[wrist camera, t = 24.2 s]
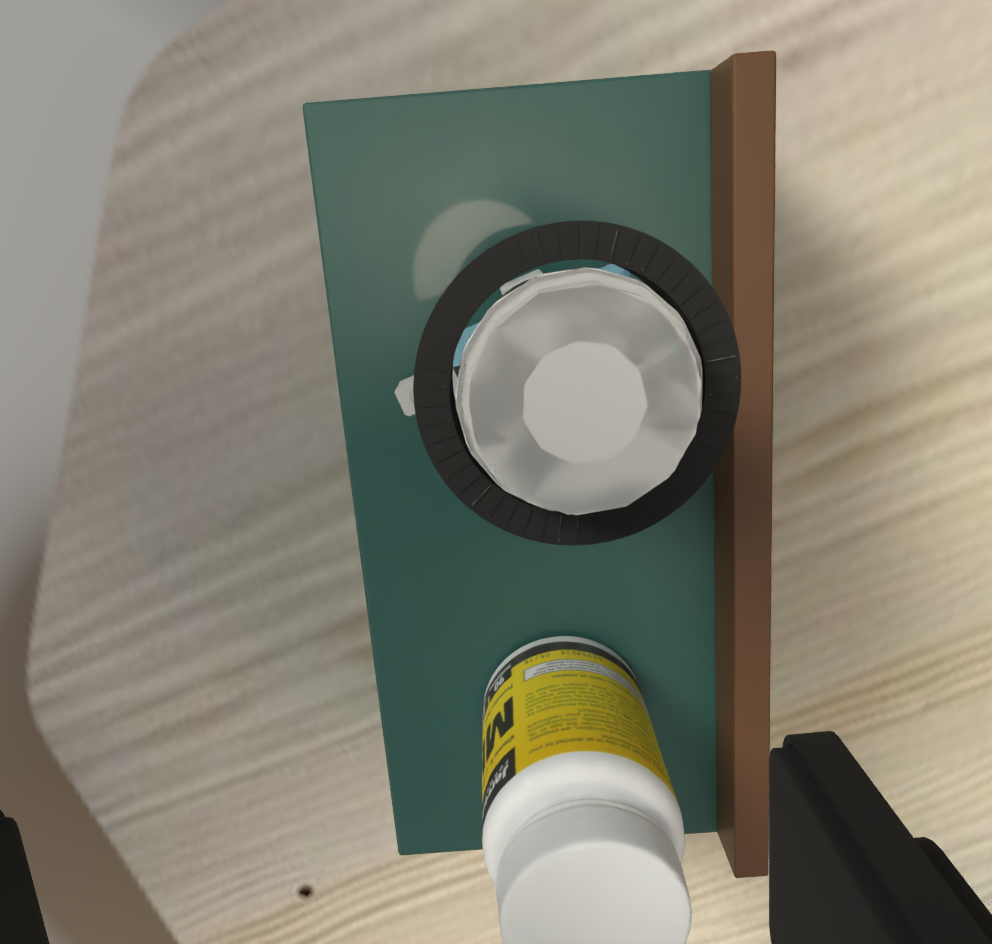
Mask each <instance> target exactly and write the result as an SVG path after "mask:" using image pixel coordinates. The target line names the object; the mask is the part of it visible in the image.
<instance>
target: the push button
mask: <svg viewBox="0 0 992 944" xmlns="http://www.w3.org/2000/svg"><path fill="white" fill-rule="evenodd" d="M579 259H583V260H598V261H603V262H608V263H611V264H609V265H606V266H604V267H601V268H599V269H597V268H586V267H584V268H578V269H571V270H565V271H559V272H552V273H546V274H543V273H542V271H540V270H539V269H538V270H535V271H532V272H530V273H528V274H525V275H523V276H521V277H519V278H516V279H514V280H512V279H513V278H515V277H517V276H518V275H520V274H522V273H524V272H527V271H529V270H531V269H533V268H536V267H539V266H542V265H545V264H549V263H554V262H559V261H564V260H579ZM630 273H631V274H633V275H635V276H636V277H638V278H639V279H640V280H642V281H643V282H644V283H645V284H646V285H645V284H643V283H642V282H640V281H638V280H637V279H633V278H631V275H630ZM510 280H512V281H510ZM508 281H510V282H508ZM647 285H648V286H649V287H650V288H649V287H648V286H647ZM499 288H500V290H501V293H502V295H503V296H502V297H501V298H500V299H499V300H498V301H497V302H496V303H495V304H494V305H492V306H491V307H490V308H489V309H488V311H487V312H486V314H485V315H484V317H483V318H482V320H481V321H480V322H479V323H477V324H474V325H472V326H470V327H467V328H466V326H467V324H468V323H469V321H470V319H471V318H472V316H473V315H474V314H475V313H476V311H477V310H478V309H479V307H480V306H481V305H482V304H483V303H484V302H485V301H486V300H487V299H488V298H489V297H490V296H491V295H492V294H493V293H494V292H495V291H496V290H498V289H499ZM395 394H396V397H397V399H398V401H399V403H400V405H401V407H402V409H403V411H404V414H405V415H407V416H411V415H414V414H416V420H417V424H418V428H419V431H420V435H421V439H422V441H423V444H424V446H425V449H426V451H427V454H428V456H429V458H430V459H431V461H432V463H433V465H434V467H435V469H436V470H437V472H438V473H439V475H440V476H441V478H442V479H443V481H444V482H445V484H446V485H447V486H448V487H449V488H450V489H451V491H452V492H453V493H454V494H455V495H456V496H457V497H458V498H459V499H460V500H461V501H462V502H463V503H464V504H465V505H466V506H467V507H468V508H469V509H471V510H472V511H473V512H475V513H476V514H477V515H479V516H480V517H481V518H483V519H484V520H486V521H488V522H489V523H491V524H493V525H494V526H496V527H498V528H500V529H502V530H504V531H506V532H508V533H511V534H514V535H516V536H519V537H522V538H525V539H528V540H532V541H536V542H540V543H547V544H554V545H568V546H578V545H592V544H599V543H605V542H610V541H614V540H617V539H621V538H624V537H627V536H630V535H633V534H635V533H638V532H640V531H642V530H644V529H646V528H648V527H651V526H653V525H655V524H656V523H658V522H659V521H661V520H663V519H664V518H666V517H667V516H669V515H670V514H672V513H673V512H674V511H676V510H677V509H678V508H679V507H681V506H682V505H683V504H684V503H685V502H686V501H687V500H688V499H690V498H691V497H692V496H693V495H694V494H695V493H696V492H697V490H698V489H699V488H700V487H701V486H702V485H703V484H704V482H705V481H706V480H707V479H708V477H709V476H710V474H711V473H712V472H713V470H714V469H715V467H716V466H717V464H718V462H719V460H720V459H721V457H722V455H723V453H724V451H725V449H726V447H727V444H728V442H729V440H730V438H731V435H732V432H733V429H734V426H735V422H736V419H737V414H738V409H739V404H740V396H741V361H740V353H739V348H738V343H737V339H736V335H735V332H734V329H733V326H732V323H731V320H730V318H729V316H728V313H727V311H726V309H725V307H724V305H723V303H722V301H721V300H720V298H719V296H718V295H717V293H716V292H715V290H714V288H713V287H712V286H711V284H710V283H709V282H708V281H707V279H706V278H705V277H704V276H703V274H702V273H701V272H700V271H699V270H698V269H697V268H696V267H695V266H694V265H693V264H692V263H691V262H690V261H689V260H687V259H686V258H685V257H684V256H682V255H681V254H680V253H679V252H677V251H676V250H675V249H673V248H672V247H670V246H668V245H667V244H665V243H664V242H662V241H660V240H658V239H656V238H654V237H652V236H650V235H648V234H646V233H644V232H641V231H638V230H635V229H632V228H629V227H626V226H622V225H617V224H613V223H608V222H599V221H565V222H556V223H550V224H545V225H541V226H537V227H533V228H530V229H527V230H524V231H522V232H519V233H516V234H514V235H512V236H510V237H508V238H506V239H504V240H501V241H500V242H498V243H497V244H495V245H493V246H492V247H490V248H488V249H487V250H485V251H484V252H483V253H481V254H480V255H479V256H478V257H476V258H475V259H474V260H472V261H471V262H470V263H469V264H468V265H467V266H466V267H465V268H464V269H463V270H462V271H461V272H460V273H459V274H458V275H457V276H456V277H455V279H454V280H453V281H452V282H451V283H450V285H449V286H448V287H447V288H446V290H445V291H444V293H443V294H442V296H441V297H440V299H439V300H438V302H437V303H436V305H435V307H434V309H433V311H432V313H431V315H430V317H429V319H428V321H427V323H426V326H425V328H424V331H423V334H422V336H421V340H420V343H419V347H418V351H417V355H416V361H415V368H414V375H413V376H411V377H409V378H407V379H404V380H402V381H400V382H399V385H398V387H396V390H395Z"/></svg>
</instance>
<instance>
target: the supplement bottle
mask: <svg viewBox="0 0 992 944" xmlns="http://www.w3.org/2000/svg"><path fill="white" fill-rule="evenodd" d="M482 732H483V735H482V736H483V753H482V845H483V852H484V858H485V862H486V866H487V869H488V872H489V875H490V877H491V879H492V881H493V883H494V885H495V887H496V895H497V902H498V910H499V922H500V931H501V937H502V940H503V943H504V944H685V943H686V940H687V938H688V935H689V932H690V927H691V914H692V911H691V902H690V897H689V892H688V889H687V885H686V882H685V878H684V874H683V870H682V866H681V863H682V859H683V854H684V827H683V821H682V815H681V811H680V807H679V804H678V801H677V798H676V796H675V793H674V790H673V787H672V784H671V781H670V779H669V775H668V772H667V769H666V767H665V764H664V761H663V758H662V755H661V752H660V749H659V746H658V742H657V739H656V736H655V733H654V730H653V727H652V723H651V720H650V717H649V714H648V711H647V708H646V705H645V701H644V699H643V695H642V692H641V689H640V687H639V685H638V682H637V680H636V677H635V676H634V674H633V672H632V670H631V669H630V668H629V666H628V665H627V664H626V662H625V661H624V660H623V659H622V658H621V657H620V656H619V655H618V654H616V653H615V652H614V651H612V650H611V649H609V648H608V647H606V646H604V645H602V644H600V643H598V642H596V641H593V640H590V639H586V638H582V637H575V636H557V637H549V638H544V639H540V640H537V641H534V642H531V643H529V644H527V645H525V646H523V647H521V648H519V649H518V650H516V651H515V652H513V653H512V654H511V655H509V656H508V657H507V658H506V659H505V660H504V661H503V662H502V663H501V664H500V665H499V667H498V668H497V669H496V671H495V672H494V674H493V675H492V677H491V679H490V681H489V683H488V686H487V689H486V692H485V696H484V701H483V719H482Z"/></svg>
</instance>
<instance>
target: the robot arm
mask: <svg viewBox="0 0 992 944" xmlns="http://www.w3.org/2000/svg"><path fill="white" fill-rule="evenodd" d="M769 927H770V937H771V942H772V944H992V914H991V913H990V912H989V911H988V909H987V908H986V907H985V905H984V904H983V903H982V902H981V900H980V899H979V898H978V896H977V895H976V894H975V892H974V891H973V890H972V889H971V887H970V886H969V885H968V883H967V882H966V881H965V879H964V878H963V877H962V876H961V874H960V873H959V872H958V870H957V869H956V868H955V867H954V865H953V864H952V863H951V861H950V860H949V859H948V857H947V856H946V855H945V854H944V852H943V851H942V850H941V849H940V848H939V847H938V846H937V845H936V844H935V843H934V842H933V841H932V840H930V839H928V838H925V837H920V838H913V837H912V835H911V834H910V832H909V831H908V830H907V828H906V827H905V826H904V824H903V823H902V822H901V820H900V819H899V818H898V816H897V815H896V814H895V812H894V811H893V809H892V808H891V807H890V805H889V804H888V803H887V801H886V800H885V799H884V797H883V796H882V795H881V793H880V792H879V791H878V789H877V788H876V787H875V785H874V784H873V782H872V781H871V780H870V778H869V777H868V776H867V774H866V773H865V772H864V770H863V769H862V768H861V766H860V765H859V764H858V762H857V761H856V760H855V758H854V757H853V755H852V754H851V753H850V751H849V750H848V749H847V747H846V746H845V745H844V743H843V742H842V741H841V739H840V738H839V737H838V736H837V735H836V734H835V733H834V732H832V731H825V732H814V733H803V734H791V735H787V736H786V737H785V738H784V742H783V748H773V749H772V750H771V752H770V758H769ZM0 944H49V941H48V937H47V933H46V929H45V926H44V922H43V918H42V914H41V911H40V907H39V903H38V900H37V895H36V892H35V888H34V884H33V880H32V877H31V873H30V869H29V865H28V862H27V858H26V854H25V851H24V847H23V843H22V839H21V835H20V832H19V828H18V826H17V823H16V821H14V819H13V818H9V817H5V816H4V814H3V812H2V811H1V810H0Z"/></svg>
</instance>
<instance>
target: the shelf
mask: <svg viewBox="0 0 992 944" xmlns="http://www.w3.org/2000/svg"><path fill="white" fill-rule="evenodd" d="M303 115H304V123H305V131H306V138H307V146H308V154H309V162H310V169H311V177H312V185H313V193H314V200H315V208H316V216H317V224H318V231H319V239H320V247H321V255H322V262H323V270H324V278H325V286H326V293H327V301H328V309H329V317H330V324H331V332H332V340H333V348H334V356H335V363H336V371H337V379H338V387H339V394H340V402H341V410H342V418H343V425H344V433H345V441H346V449H347V456H348V464H349V472H350V480H351V487H352V495H353V503H354V511H355V518H356V526H357V534H358V542H359V550H360V557H361V565H362V573H363V581H364V588H365V596H366V604H367V612H368V619H369V627H370V635H371V643H372V650H373V658H374V666H375V674H376V681H377V689H378V697H379V705H380V712H381V720H382V728H383V736H384V744H385V751H386V759H387V767H388V775H389V782H390V790H391V798H392V806H393V813H394V821H395V829H396V837H397V844H398V852H399V854H400V855H412V854H425V853H439V852H452V851H465V850H479V849H483V845H482V753H483V736H482V735H483V732H482V719H483V701H484V696H485V692H486V689H487V686H488V683H489V681H490V679H491V677H492V675H493V674H494V672H495V671H496V669H497V668H498V667H499V665H500V664H501V663H502V662H503V661H504V660H505V659H506V658H507V657H508V656H509V655H511V654H512V653H513V652H515V651H516V650H518V649H519V648H521V647H523V646H525V645H527V644H529V643H531V642H534V641H537V640H540V639H544V638H549V637H557V636H575V637H582V638H586V639H590V640H593V641H596V642H598V643H600V644H602V645H604V646H606V647H608V648H609V649H611V650H612V651H614V652H615V653H616V654H618V655H619V656H620V657H621V658H622V659H623V660H624V661H625V662H626V664H627V665H628V666H629V668H630V669H631V670H632V672H633V674H634V676H635V677H636V680H637V682H638V685H639V687H640V689H641V692H642V695H643V699H644V701H645V705H646V708H647V711H648V714H649V717H650V720H651V723H652V727H653V730H654V733H655V736H656V739H657V742H658V746H659V749H660V752H661V755H662V758H663V761H664V764H665V767H666V769H667V772H668V775H669V779H670V781H671V784H672V787H673V790H674V793H675V796H676V798H677V801H678V804H679V807H680V811H681V815H682V821H683V827H684V834H693V833H707V832H718V835H719V837H720V840H721V843H722V845H723V848H724V850H725V853H726V856H727V858H728V861H729V863H730V866H731V868H732V871H733V874H734V876H735V877H736V878H743V877H757V876H767V875H768V856H769V752H770V649H771V545H772V442H773V339H774V235H775V132H776V52H775V51H773V50H772V51H760V52H748V53H736V54H733V55H732V56H730V57H729V58H727V59H726V60H725V61H723V62H722V63H720V64H719V65H717V66H716V67H715V68H713V69H712V70H702V71H689V72H677V73H665V74H653V75H641V76H629V77H616V78H604V79H592V80H580V81H568V82H556V83H544V84H531V85H519V86H507V87H495V88H483V89H471V90H458V91H446V92H434V93H422V94H410V95H398V96H386V97H373V98H361V99H349V100H337V101H325V102H313V103H305V104H303ZM565 221H599V222H608V223H613V224H617V225H622V226H626V227H629V228H632V229H635V230H638V231H641V232H644V233H646V234H648V235H650V236H652V237H654V238H656V239H658V240H660V241H662V242H664V243H665V244H667V245H668V246H670V247H672V248H673V249H675V250H676V251H677V252H679V253H680V254H681V255H682V256H684V257H685V258H686V259H687V260H689V261H690V262H691V263H692V264H693V265H694V266H695V267H696V268H697V269H698V270H699V271H700V272H701V273H702V274H703V276H704V277H705V278H706V279H707V281H708V282H709V283H710V284H711V286H712V287H713V288H714V290H715V292H716V293H717V295H718V296H719V298H720V300H721V301H722V303H723V305H724V307H725V309H726V311H727V313H728V316H729V318H730V320H731V323H732V326H733V329H734V332H735V335H736V339H737V343H738V348H739V353H740V361H741V396H740V404H739V409H738V414H737V419H736V422H735V426H734V429H733V432H732V435H731V438H730V440H729V442H728V444H727V447H726V449H725V451H724V453H723V455H722V457H721V459H720V460H719V462H718V464H717V466H716V467H715V469H714V470H713V472H712V473H711V474H710V476H709V477H708V479H707V480H706V481H705V482H704V484H703V485H702V486H701V487H700V488H699V489H698V490H697V492H696V493H695V494H694V495H693V496H692V497H691V498H690V499H688V500H687V501H686V502H685V503H684V504H683V505H682V506H681V507H679V508H678V509H677V510H676V511H674V512H673V513H672V514H670V515H669V516H667V517H666V518H664V519H663V520H661V521H659V522H658V523H656V524H655V525H653V526H651V527H648V528H646V529H644V530H642V531H640V532H638V533H635V534H633V535H630V536H627V537H624V538H621V539H617V540H614V541H610V542H605V543H599V544H592V545H578V546H568V545H554V544H547V543H540V542H536V541H532V540H528V539H525V538H522V537H519V536H516V535H514V534H511V533H508V532H506V531H504V530H502V529H500V528H498V527H496V526H494V525H493V524H491V523H489V522H488V521H486V520H484V519H483V518H481V517H480V516H479V515H477V514H476V513H475V512H473V511H472V510H471V509H469V508H468V507H467V506H466V505H465V504H464V503H463V502H462V501H461V500H460V499H459V498H458V497H457V496H456V495H455V494H454V493H453V492H452V491H451V489H450V488H449V487H448V486H447V485H446V484H445V482H444V481H443V479H442V478H441V476H440V475H439V473H438V472H437V470H436V469H435V467H434V465H433V463H432V461H431V459H430V458H429V456H428V454H427V451H426V449H425V446H424V444H423V441H422V439H421V435H420V431H419V428H418V424H417V420H416V414H414V415H411V416H407V415H405V414H404V411H403V409H402V407H401V405H400V403H399V401H398V399H397V397H396V394H395V390H396V387H398V385H399V382H400V381H402V380H404V379H407V378H409V377H411V376H413V375H414V368H415V361H416V355H417V351H418V347H419V343H420V340H421V336H422V334H423V331H424V328H425V326H426V323H427V321H428V319H429V317H430V315H431V313H432V311H433V309H434V307H435V305H436V303H437V302H438V300H439V299H440V297H441V296H442V294H443V293H444V291H445V290H446V288H447V287H448V286H449V285H450V283H451V282H452V281H453V280H454V279H455V277H456V276H457V275H458V274H459V273H460V272H461V271H462V270H463V269H464V268H465V267H466V266H467V265H468V264H469V263H470V262H471V261H472V260H474V259H475V258H476V257H478V256H479V255H480V254H481V253H483V252H484V251H485V250H487V249H488V248H490V247H492V246H493V245H495V244H497V243H498V242H500V241H501V240H504V239H506V238H508V237H510V236H512V235H514V234H516V233H519V232H522V231H524V230H527V229H530V228H533V227H537V226H541V225H545V224H550V223H556V222H565ZM609 264H611V263H608V262H603V261H598V260H583V259H579V260H564V261H559V262H554V263H549V264H545V265H542V266H539V267H536V268H533V269H531V270H529V271H527V272H524V273H522V274H520V275H518V276H517V277H515V278H513V279H512V280H514V279H516V278H519V277H521V276H523V275H525V274H528V273H530V272H532V271H535V270H538V269H539V270H540V271H542V273H543V274H546V273H552V272H559V271H565V270H571V269H578V268H584V267H586V268H597V269H599V268H601V267H604V266H606V265H609ZM630 275H631V278H633V279H637V280H638V281H640V282H642V283H643V284H645V283H644V282H643V281H642V280H640V279H639V278H638V277H636V276H635V275H633V274H631V273H630ZM512 280H510V281H512ZM510 281H508V282H510ZM645 285H646V284H645ZM647 286H648V285H647ZM648 287H649V286H648ZM649 288H650V287H649ZM502 296H503V295H502V293H501V290H500V288H499V289H498V290H496V291H495V292H494V293H493V294H492V295H491V296H490V297H489V298H488V299H487V300H486V301H485V302H484V303H483V304H482V305H481V306H480V307H479V309H478V310H477V311H476V313H475V314H474V315H473V316H472V318H471V319H470V321H469V323H468V324H467V326H466V328H467V327H470V326H472V325H474V324H477V323H479V322H480V321H481V320H482V318H483V317H484V315H485V314H486V312H487V311H488V309H489V308H490V307H491V306H492V305H494V304H495V303H496V302H497V301H498V300H499V299H500V298H501V297H502Z"/></svg>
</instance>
